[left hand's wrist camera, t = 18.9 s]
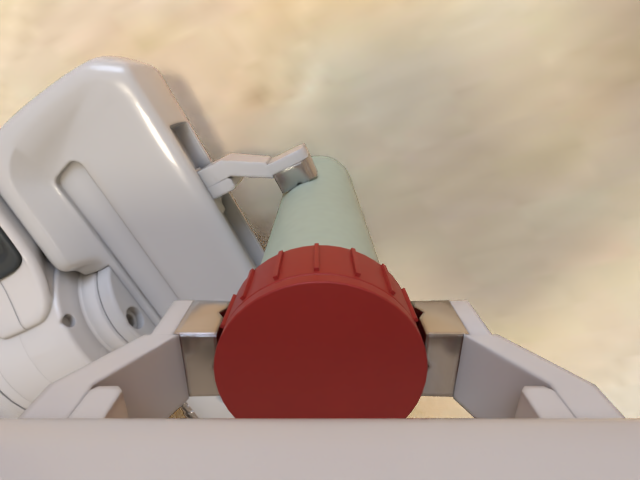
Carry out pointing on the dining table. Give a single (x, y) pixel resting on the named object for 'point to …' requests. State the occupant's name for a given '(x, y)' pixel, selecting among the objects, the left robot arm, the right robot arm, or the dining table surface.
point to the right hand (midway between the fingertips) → (335, 208)
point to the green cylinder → (321, 214)
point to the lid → (320, 340)
